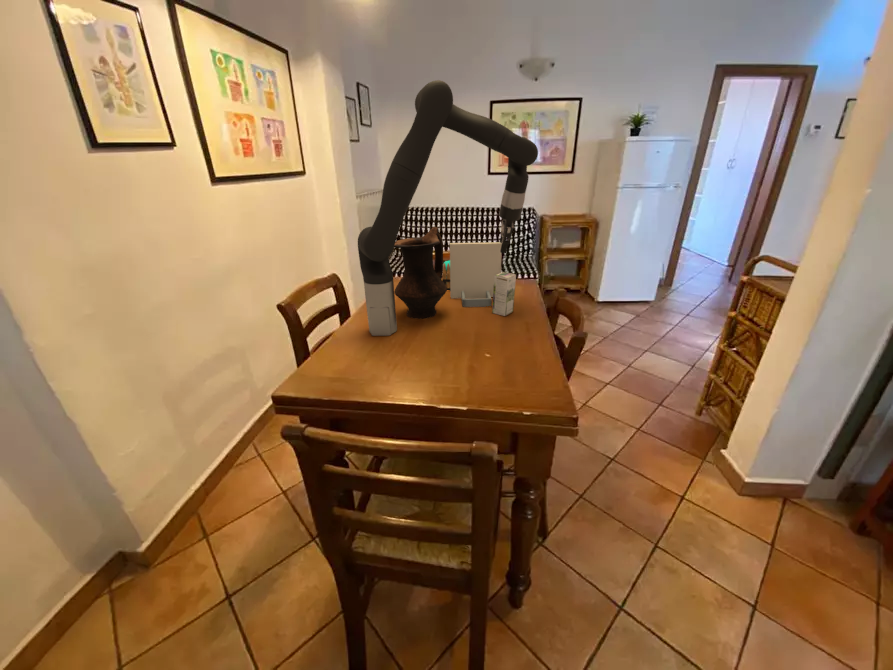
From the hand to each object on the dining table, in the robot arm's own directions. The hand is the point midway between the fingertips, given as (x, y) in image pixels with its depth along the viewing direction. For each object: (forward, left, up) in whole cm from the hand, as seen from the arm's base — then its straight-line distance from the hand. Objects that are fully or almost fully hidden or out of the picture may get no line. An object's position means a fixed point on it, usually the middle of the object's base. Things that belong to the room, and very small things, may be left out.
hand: (502, 247), depth 137 cm
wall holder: (+2, +9, -22) cm, 24 cm away
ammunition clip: (+17, +17, -22) cm, 33 cm away
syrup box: (-10, 0, -22) cm, 24 cm away
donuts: (+27, +17, -22) cm, 39 cm away
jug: (-10, +29, -22) cm, 38 cm away
